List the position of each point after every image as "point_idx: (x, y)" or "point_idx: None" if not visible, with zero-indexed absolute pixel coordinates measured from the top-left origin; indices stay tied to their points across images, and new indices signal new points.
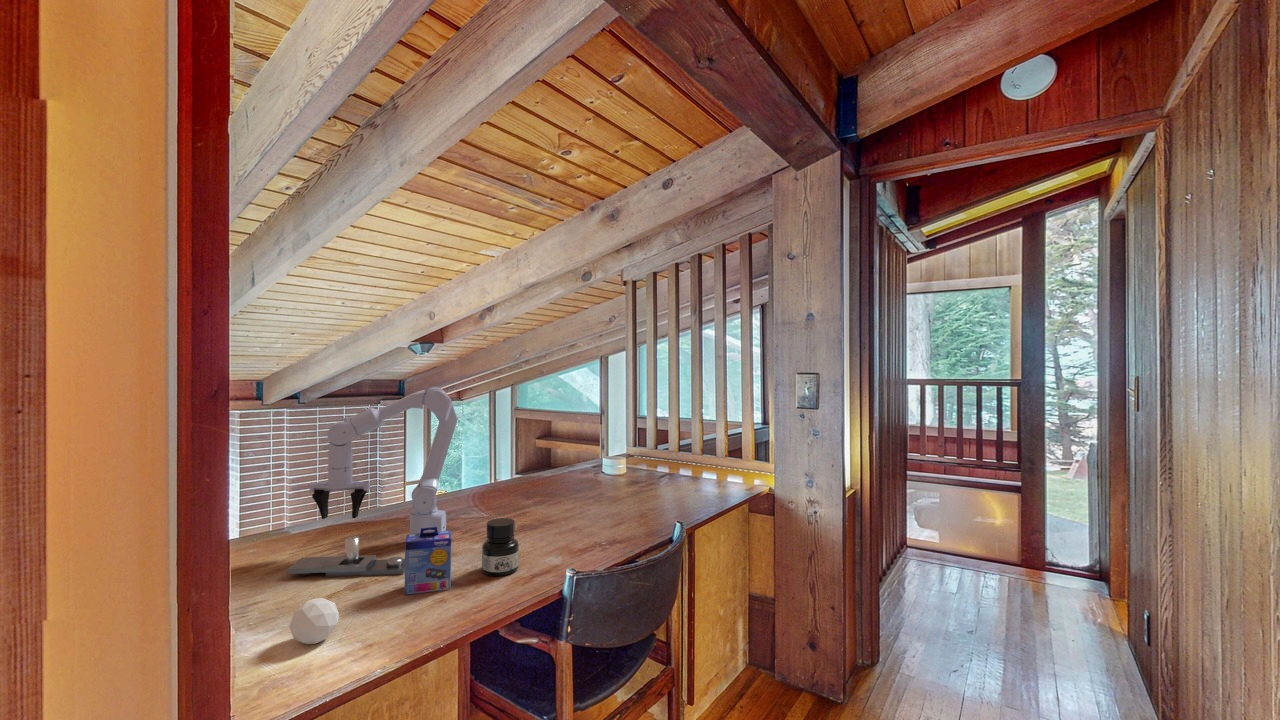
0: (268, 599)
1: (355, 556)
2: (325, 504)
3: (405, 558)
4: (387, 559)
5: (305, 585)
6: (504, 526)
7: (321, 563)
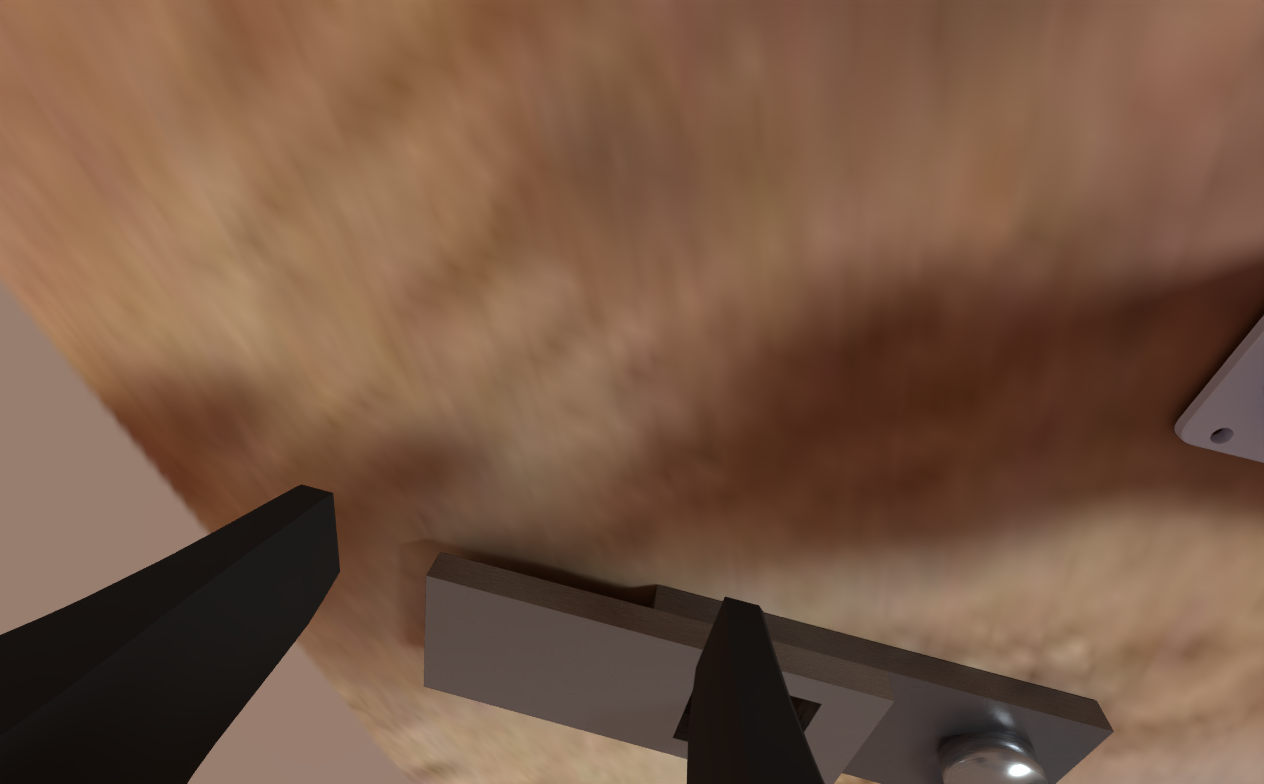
0: (465, 765)
1: None
2: (162, 717)
3: None
4: (954, 776)
5: None
6: None
7: (576, 691)
